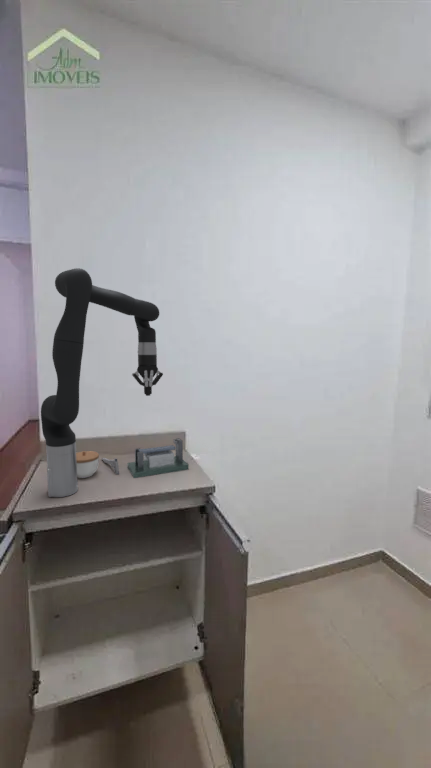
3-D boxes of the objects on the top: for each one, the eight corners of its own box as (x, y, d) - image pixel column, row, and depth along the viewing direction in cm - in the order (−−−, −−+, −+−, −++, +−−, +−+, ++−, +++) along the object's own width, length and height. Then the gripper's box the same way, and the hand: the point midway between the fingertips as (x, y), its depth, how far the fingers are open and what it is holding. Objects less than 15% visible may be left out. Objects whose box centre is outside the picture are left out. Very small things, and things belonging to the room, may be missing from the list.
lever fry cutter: (133, 478, 132) (133, 449, 131) (127, 467, 143) (126, 441, 141) (188, 469, 141) (188, 442, 140) (178, 460, 152) (178, 435, 151)
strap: (139, 454, 137) (139, 451, 136) (138, 451, 139) (138, 449, 139) (175, 449, 143) (175, 447, 143) (173, 447, 145) (173, 445, 145)
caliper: (119, 474, 136) (118, 459, 135) (116, 475, 135) (115, 459, 134) (103, 459, 153) (103, 446, 152) (100, 460, 152) (100, 446, 151)
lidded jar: (69, 482, 128) (68, 457, 127) (69, 471, 138) (68, 448, 137) (100, 478, 132) (99, 454, 131) (98, 468, 142) (97, 445, 141)
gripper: (133, 354, 137) (133, 397, 139) (165, 353, 142) (166, 395, 144) (129, 353, 143) (130, 395, 146) (160, 353, 149) (160, 393, 151)
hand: (148, 395), depth 145 cm, fingers closed
